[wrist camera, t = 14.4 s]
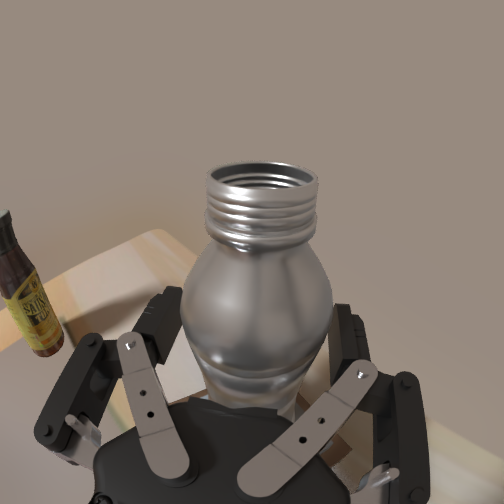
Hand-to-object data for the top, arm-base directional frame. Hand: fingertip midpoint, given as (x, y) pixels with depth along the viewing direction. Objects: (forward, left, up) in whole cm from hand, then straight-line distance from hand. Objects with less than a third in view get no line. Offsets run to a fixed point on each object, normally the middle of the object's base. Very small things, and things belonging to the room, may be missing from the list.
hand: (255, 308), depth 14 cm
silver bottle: (-2, +1, -13) cm, 13 cm away
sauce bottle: (+23, +20, -18) cm, 35 cm away
